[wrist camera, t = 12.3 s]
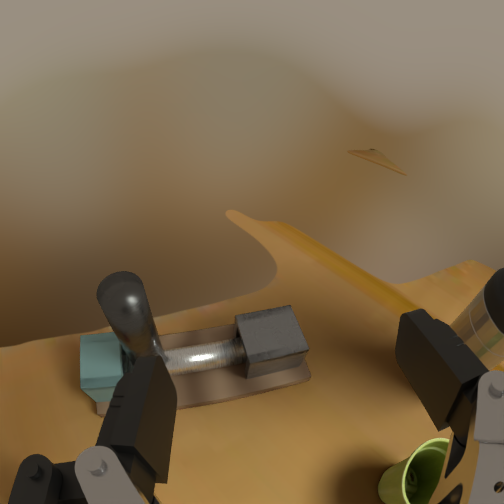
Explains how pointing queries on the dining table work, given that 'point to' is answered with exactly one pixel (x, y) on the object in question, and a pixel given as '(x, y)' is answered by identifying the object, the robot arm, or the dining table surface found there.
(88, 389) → the socket block
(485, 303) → the robot arm
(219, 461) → the dining table surface
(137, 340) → the slide bolt
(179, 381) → the board
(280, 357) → the sleeve
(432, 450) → the plant pot
